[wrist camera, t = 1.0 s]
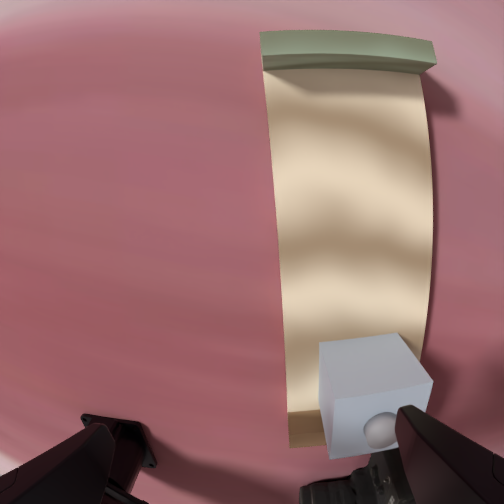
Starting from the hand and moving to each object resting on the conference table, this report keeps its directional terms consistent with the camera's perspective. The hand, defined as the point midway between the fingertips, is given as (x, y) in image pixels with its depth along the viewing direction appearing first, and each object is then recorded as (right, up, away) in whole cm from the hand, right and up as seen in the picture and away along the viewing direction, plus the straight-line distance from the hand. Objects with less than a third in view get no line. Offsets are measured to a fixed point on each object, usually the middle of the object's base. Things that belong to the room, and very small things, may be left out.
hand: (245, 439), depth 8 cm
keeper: (+8, -3, +12) cm, 15 cm away
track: (+7, +5, +11) cm, 14 cm away
